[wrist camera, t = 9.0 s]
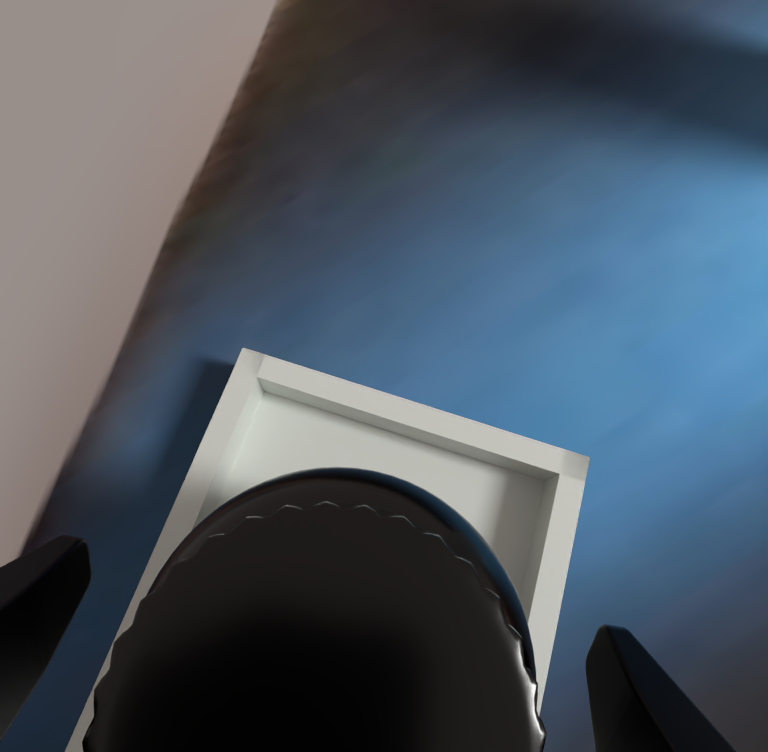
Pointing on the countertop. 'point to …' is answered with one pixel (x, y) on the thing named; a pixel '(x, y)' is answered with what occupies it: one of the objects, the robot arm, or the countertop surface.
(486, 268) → the countertop surface
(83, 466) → the countertop surface
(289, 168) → the countertop surface
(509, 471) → the tray
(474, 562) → the supplement bottle
